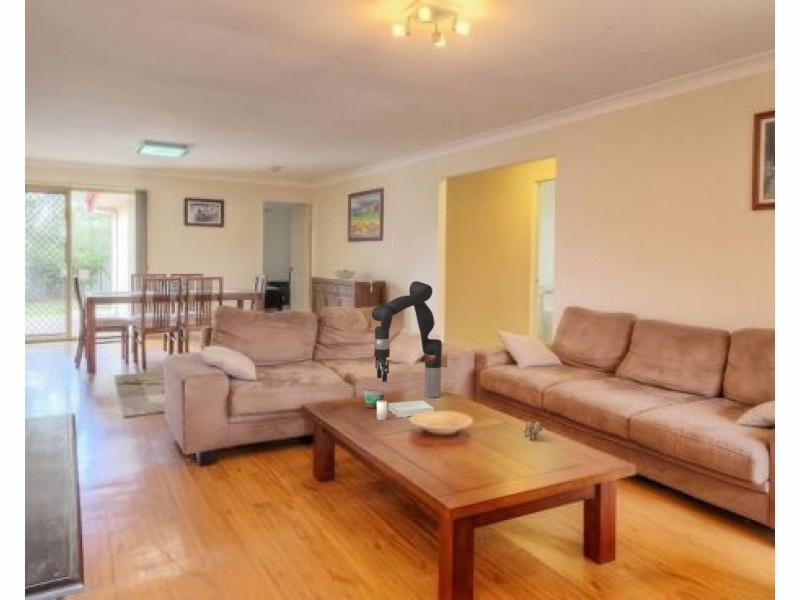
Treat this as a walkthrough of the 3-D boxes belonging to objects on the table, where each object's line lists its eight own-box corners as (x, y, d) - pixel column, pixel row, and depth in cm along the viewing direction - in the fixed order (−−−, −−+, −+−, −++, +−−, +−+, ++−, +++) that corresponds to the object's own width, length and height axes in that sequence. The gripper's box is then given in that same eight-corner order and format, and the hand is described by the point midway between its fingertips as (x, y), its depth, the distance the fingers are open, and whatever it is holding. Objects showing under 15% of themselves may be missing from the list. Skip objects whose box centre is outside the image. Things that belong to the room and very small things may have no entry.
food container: (359, 408, 295) (359, 390, 294) (364, 405, 301) (364, 387, 300) (380, 411, 290) (380, 392, 290) (385, 408, 296) (385, 389, 295)
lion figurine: (544, 443, 242) (545, 423, 241) (533, 444, 240) (533, 423, 240) (528, 432, 256) (529, 413, 255) (518, 433, 255) (518, 414, 254)
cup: (375, 418, 278) (375, 400, 277) (385, 417, 280) (385, 399, 279) (378, 421, 273) (378, 403, 272) (388, 420, 275) (388, 402, 274)
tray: (388, 409, 293) (388, 403, 293) (422, 406, 300) (422, 400, 300) (397, 417, 279) (398, 411, 278) (433, 414, 285) (434, 407, 285)
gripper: (370, 345, 279) (370, 377, 280) (379, 350, 266) (379, 383, 267) (384, 344, 282) (384, 376, 283) (393, 349, 268) (393, 382, 270)
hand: (381, 379), depth 275 cm, fingers open, 8 cm apart
